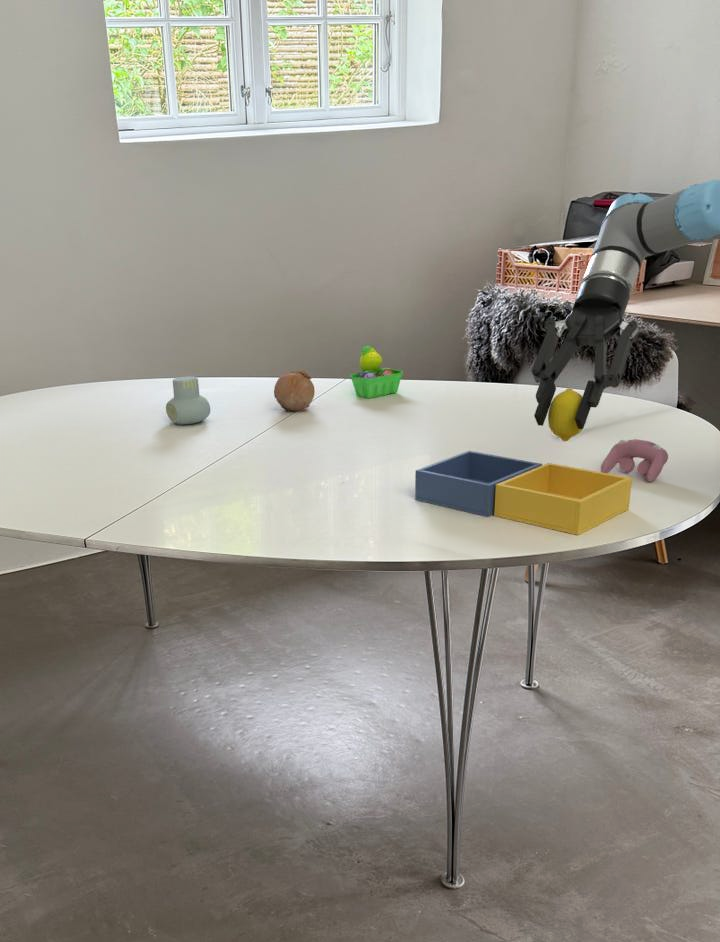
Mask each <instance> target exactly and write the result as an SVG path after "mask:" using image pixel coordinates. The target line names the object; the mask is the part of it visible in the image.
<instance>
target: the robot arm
mask: <svg viewBox="0 0 720 942" xmlns="http://www.w3.org/2000/svg"><path fill="white" fill-rule="evenodd" d="M713 240H720V179H711V180H708V181H705V182H701V183H700V182H699V183H694V184H692V185H690V186H689V187H687V188H684V189H681V190H679V191H676V192H674V193H671V194H668V195H666V196H664V197H660V198H657V199H655V200H654V199H653V198H652V197H651V196H649V195H647V194H645V193H640V192H639V193H636V194H633V193H625V194H622V195H621V196H619V197H617V198H616V199H615V200H614V201H613V202H612V203H611V205H610V207H609V208H608V211H607V212H606V215H605V218H604V219H603V220H602V222H601V225H600V231H599V234H598V237H597V240H596V243H595V245H594V248H593V251H592V254H591V256H590V259H589V262H588V265H587V267H586V269H585V272H584V275H583V277H582V280H581V284H580V286H579V289H578V292H577V295H576V297H575V300H574V302H573V305H572V310H571V312H570V313H569V314H568V315H567V316H566V318H565V319H562V320H557V321H556V320H555V319H554V318H550V319H548V320H547V321H546V333H545V336H544V339H543V341H542V343H541V345H540V348H539V350H538V353H537V356H536V358H535V361H534V362H533V365H532V368H531V375H532V377H533V379H534V382H535V383H537V384H538V383H539V385H538V387H537V390H536V393H535V399H536V402H537V407H536V410H535V412H534V414H533V416H534V419H535V422H536V424H537V426H541V427H542V426H544V425H545V421H546V418H547V417H548V413H549V409H550V405H551V403H552V401H553V399H554V396H555V394H556V391H557V387H556V384H555V382H556V380H557V379H558V377H559V376H560V375H561V374H562V372H563V370H564V369H565V368H566V366H567V364H568V363H569V362H570V360H572V357H573V356H574V355H575V354H576V353H578V351H579V350H580V349H581V348H582V347H585V346H590V347H594V375H593V378H594V380H587V383H586V385H585V388H584V390H583V394H582V400H581V402H580V405H579V408H578V411H577V414H576V417H575V421H576V424H577V427H578V429H582V430H584V428H585V425H586V423H587V420H588V417H589V414H590V411H591V408H594V409H595V408H597V407H598V406H599V404H600V401H601V399H602V395H603V392H604V391H605V390H606V389H607V388H611V387H612V388H617V387H619V385H620V384H621V381H622V377H623V373H624V370H625V367H626V363H627V360H628V357H629V354H630V351H631V348H632V345H633V343H634V342H635V341H636V339H637V338H638V336H639V335H640V331H639V326H638V323H637V321H636V320H631V321H629V322H627V321H624V320H623V319H624V315H625V313H626V310H627V308H628V304H629V301H630V299H631V298H630V297H631V295H632V292H633V290H634V287H635V284H636V281H637V278H638V275H639V273H640V270H641V268H642V264H643V261H644V259H646V258H647V257H651V256H654V255H658V254H661V253H664V252H667V251H671V250H673V249H674V250H675V249H678V248H680V247H684V246H687V245H693V244H698V243H704V242H708V241H713ZM566 329H567V331H568V333H567V334H566V336H565V339H564V342H562V344H561V346H560V347H559V349H558V350H557V352H556V353H555V355H553V354H554V352H555V350H556V348H557V345H558V342H559V338H561V337H562V334H563V333H564V330H566ZM618 333H619V334H620V336H619V338H618V342H617V346H616V348H615V352H614V355H613V358H612V361H611V365H610V368H609V372H608V374H607V352H608V341H609V340H610V339H611V338H613V337H614V336H615V335H617V334H618Z"/></svg>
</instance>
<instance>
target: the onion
mask: <svg viewBox="0 0 720 942" xmlns="http://www.w3.org/2000/svg"><path fill="white" fill-rule="evenodd" d="M315 391H316V390H315V385H314V383H313V382H312V377H311V376H310V375H308V373H307V372H306V371H305V370H302V369H301V370H300V369H298V370H294V371H291V372H287V373H284V374H282V375H281V376H279V377H278V378H277V381H276V382H275V384H274V389H273V397H274V399H276V402H277V404H278V405H279V406H280V407H281V408H282V409H283V410H284V411H286V412H296V413H297V412H302V411H304V410H305V409H307V408H309V406H310V405H311V403H312V402H313V400H314V397H315Z"/></svg>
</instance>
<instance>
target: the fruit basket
mask: <svg viewBox="0 0 720 942" xmlns="http://www.w3.org/2000/svg"><path fill="white" fill-rule="evenodd" d="M360 354H361V355H360V359H359V367H360V370H362V371H361V372H357V373H353V374H350V375H349V378H350V379H351V383H352V385H353V388H354V392H355V396H357V397H360V398H364V399H365V398H366V399H372V398H377V397H382V396H386V395H390V393H391V394H395V393H396V392H397V393H398V391H399V386H400V383H401V379H402V377H403V375H404V371H403V370H398V369H393V368H388V367H381V364H382V362H383V357H382V356H381V354H380V353H378V352H377V351H376V350H375V348H373V347H372V346H370V345H366V346H363V347H362V349H361V353H360Z"/></svg>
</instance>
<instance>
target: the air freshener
mask: <svg viewBox="0 0 720 942" xmlns="http://www.w3.org/2000/svg"><path fill="white" fill-rule="evenodd" d="M199 385H200V384H199V378H198V377H197V376H191V375H189V376H188V375H185V376H177V377H176V378H174V379H172V390H173V397H172V398H171V399H170V400H168V402H167V403H166V404H165V412H166V415H167V417H168V419H169V420H170V421H171V422H173V423H175V424H177V425H180V426H181V425H182V426H184V425H185V426H186V425H194V424H199V423H200V422H203V421H205V420H206V419H207V418H208V417H209V416H210V414H211V405H210V403H209V401H208V399H207V398H206V397H204V395H203V396H202V395H200V387H199Z"/></svg>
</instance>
